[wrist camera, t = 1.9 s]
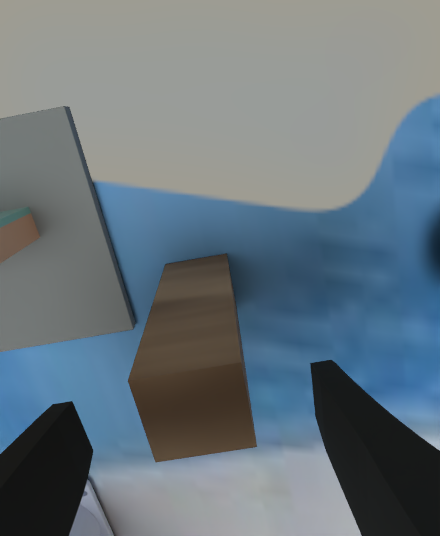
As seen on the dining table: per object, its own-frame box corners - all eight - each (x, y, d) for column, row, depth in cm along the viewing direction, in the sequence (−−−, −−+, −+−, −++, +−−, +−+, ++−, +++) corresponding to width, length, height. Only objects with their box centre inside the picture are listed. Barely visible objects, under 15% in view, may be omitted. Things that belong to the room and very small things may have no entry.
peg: (236, 308, 19) (256, 446, 11) (178, 317, 19) (155, 462, 11) (226, 253, 18) (241, 362, 10) (165, 264, 18) (127, 381, 10)
